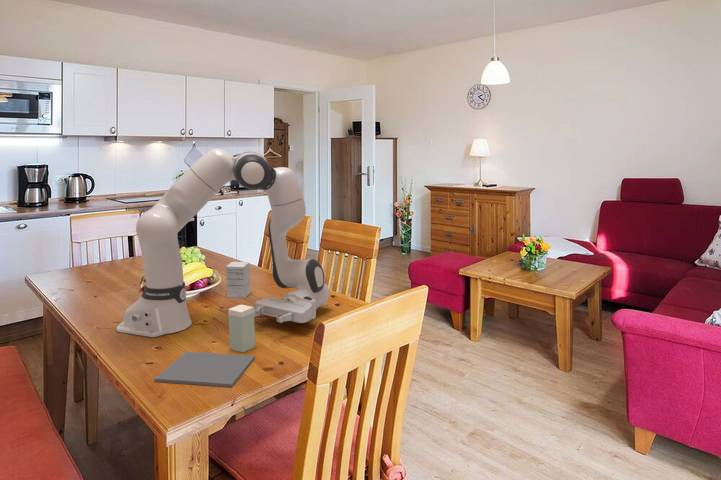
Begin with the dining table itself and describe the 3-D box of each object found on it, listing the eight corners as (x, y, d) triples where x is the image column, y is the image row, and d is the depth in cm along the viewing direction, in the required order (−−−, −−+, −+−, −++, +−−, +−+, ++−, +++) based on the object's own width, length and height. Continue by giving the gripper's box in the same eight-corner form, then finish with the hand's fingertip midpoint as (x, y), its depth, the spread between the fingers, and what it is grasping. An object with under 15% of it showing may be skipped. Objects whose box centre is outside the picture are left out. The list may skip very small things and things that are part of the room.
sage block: (230, 348, 136) (228, 309, 133) (242, 342, 140) (240, 304, 138) (243, 352, 133) (241, 312, 131) (255, 346, 137) (253, 307, 135)
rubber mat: (154, 381, 116) (154, 378, 116) (186, 354, 132) (186, 351, 132) (231, 387, 114) (231, 384, 114) (254, 358, 129) (254, 355, 129)
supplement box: (233, 292, 189) (231, 261, 187) (251, 292, 189) (250, 262, 186) (226, 297, 182) (224, 266, 180) (245, 298, 181) (243, 266, 179)
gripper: (270, 290, 161) (241, 301, 149) (319, 300, 151) (292, 313, 139) (271, 308, 162) (242, 320, 150) (319, 319, 152) (292, 333, 140)
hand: (266, 317), depth 144 cm, fingers open, 8 cm apart
